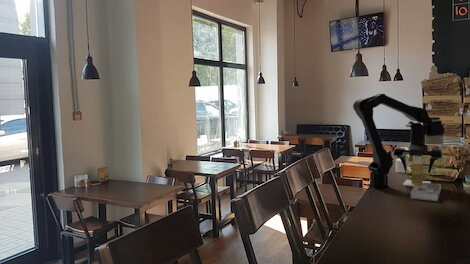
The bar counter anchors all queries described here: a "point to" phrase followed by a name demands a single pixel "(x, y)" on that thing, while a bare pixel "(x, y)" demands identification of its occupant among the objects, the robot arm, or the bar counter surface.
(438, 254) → the bar counter surface
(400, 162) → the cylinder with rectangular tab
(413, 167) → the square peg
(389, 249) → the bar counter surface
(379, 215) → the bar counter surface
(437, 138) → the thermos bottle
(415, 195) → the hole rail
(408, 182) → the pad
